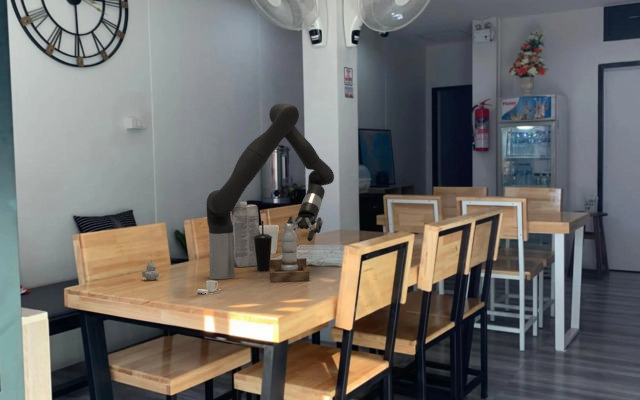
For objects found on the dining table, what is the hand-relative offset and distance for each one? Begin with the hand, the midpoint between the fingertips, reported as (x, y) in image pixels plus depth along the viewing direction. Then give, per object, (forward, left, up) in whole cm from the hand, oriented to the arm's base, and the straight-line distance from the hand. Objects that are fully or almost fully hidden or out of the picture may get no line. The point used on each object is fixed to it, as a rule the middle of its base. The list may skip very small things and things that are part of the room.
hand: (298, 239), depth 246 cm
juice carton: (-20, +26, -14) cm, 36 cm away
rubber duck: (-56, +1, -14) cm, 58 cm away
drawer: (-4, -7, -14) cm, 16 cm away
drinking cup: (-13, +13, -14) cm, 23 cm away
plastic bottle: (-4, -7, -13) cm, 15 cm away
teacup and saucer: (-35, -24, -14) cm, 45 cm away
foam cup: (-9, +59, -14) cm, 61 cm away
